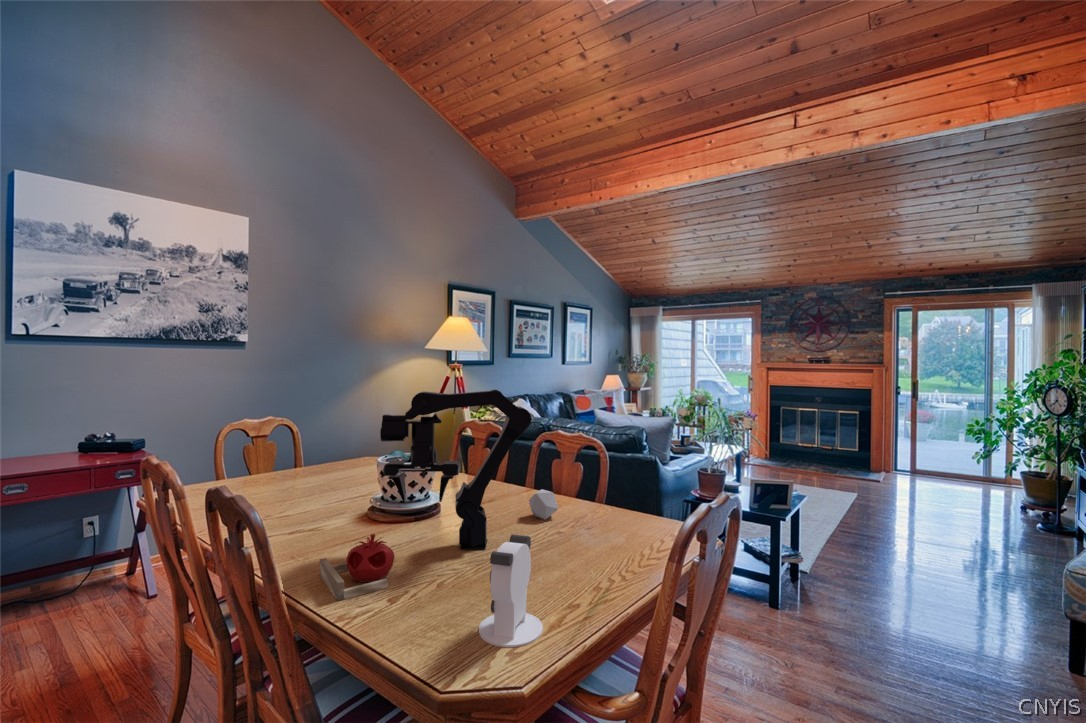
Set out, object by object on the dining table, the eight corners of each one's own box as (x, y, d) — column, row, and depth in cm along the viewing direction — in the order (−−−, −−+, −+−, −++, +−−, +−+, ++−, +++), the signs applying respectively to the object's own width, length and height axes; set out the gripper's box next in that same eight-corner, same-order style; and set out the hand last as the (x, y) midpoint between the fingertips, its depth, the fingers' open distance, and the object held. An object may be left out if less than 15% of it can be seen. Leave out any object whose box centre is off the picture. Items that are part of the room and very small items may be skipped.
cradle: (365, 564, 115) (365, 549, 115) (387, 587, 103) (387, 570, 103) (319, 575, 109) (319, 559, 109) (337, 601, 97) (337, 582, 97)
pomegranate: (357, 566, 114) (357, 526, 114) (400, 566, 114) (400, 526, 114) (339, 586, 104) (338, 542, 104) (385, 586, 104) (385, 542, 104)
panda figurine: (494, 607, 95) (495, 530, 95) (551, 616, 92) (551, 536, 92) (468, 640, 83) (468, 552, 84) (531, 652, 80) (531, 560, 80)
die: (564, 520, 152) (560, 489, 158) (550, 512, 145) (547, 480, 151) (539, 527, 154) (536, 496, 160) (525, 519, 148) (523, 488, 154)
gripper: (463, 436, 134) (463, 493, 134) (394, 436, 134) (394, 493, 134) (457, 442, 123) (457, 504, 123) (382, 442, 123) (382, 505, 122)
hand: (422, 501), depth 126 cm, fingers open, 9 cm apart
